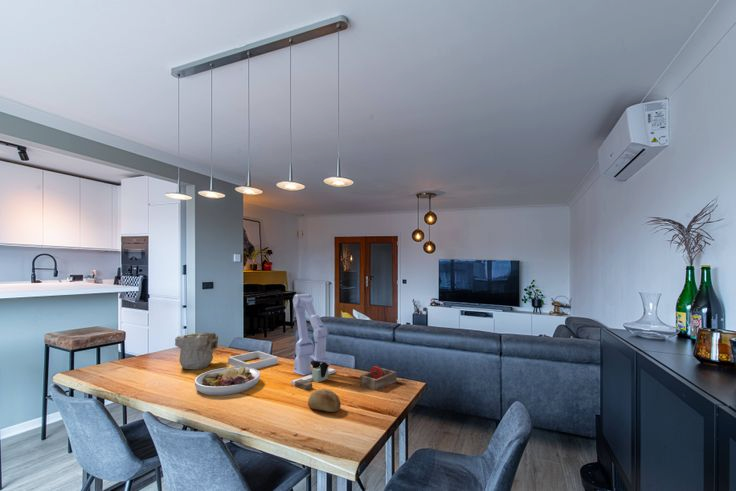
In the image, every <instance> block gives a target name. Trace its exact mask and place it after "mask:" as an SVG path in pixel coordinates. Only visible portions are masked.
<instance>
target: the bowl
mask: <svg viewBox="0 0 736 491" xmlns="http://www.w3.org/2000/svg"><path fill="white" fill-rule="evenodd" d="M260 378H261V372H260V371H259V369H253V368H248V367H235V366H230V367H222V368H217V369H211V370H209V371H208V370H207V371H206V372H204V373H203V372H202V373H201V374H199V375H198V376H196V378H195V379H194V386H195V388H196V390H197V391H198V392H200V393H202V394H204V395H208V396H229V395H235V394H239V393H243V392H246V391H247V390H250V389H252V388H253V387H255V386H256V385H257V384H258V382H259V380H260Z"/></svg>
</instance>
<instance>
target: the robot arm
mask: <svg viewBox="0 0 736 491" xmlns="http://www.w3.org/2000/svg"><path fill="white" fill-rule="evenodd" d="M313 301H314V300H313V296H312V294H311V293H302V294H301V293H300V294H299V293H298V294H297V293H295V294H294V295H293V298H292V304H293V305H292V306H293V310H295V318H296V323H297V324H296V325H297V332H298V338H299V339H298V340H297V342H296V343H295V348H294V349H295V350H294V352H295V355H296V357H295V358H294V361H293V362H294V366H293V367H294V368H293V371H292V373H295V374H297V375H301V376H308V375H311V374H312V369H313V368H316V367H320V369H321V377H325V374H326V371H327V368H328V369H329V366H330V365H332V360H331V359H329V358H327V357H326V356H327V355H326V352H327V337H328V336H329V333H330V332H329V328H328V326H327V325H326V324H323V321H322V319H321V317H320V316H319V315H318V314H317V313H316V310H315V307H314V305H313ZM306 312H307V315H308V316H309V322H310V325H311V327H312V329H313V332H312V335H313V338H314V339H313V340H314V341H313V340H312V339H311V338H309V332H308V325H307V320H306V319H307V318H306ZM314 342H315V344H314Z"/></svg>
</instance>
